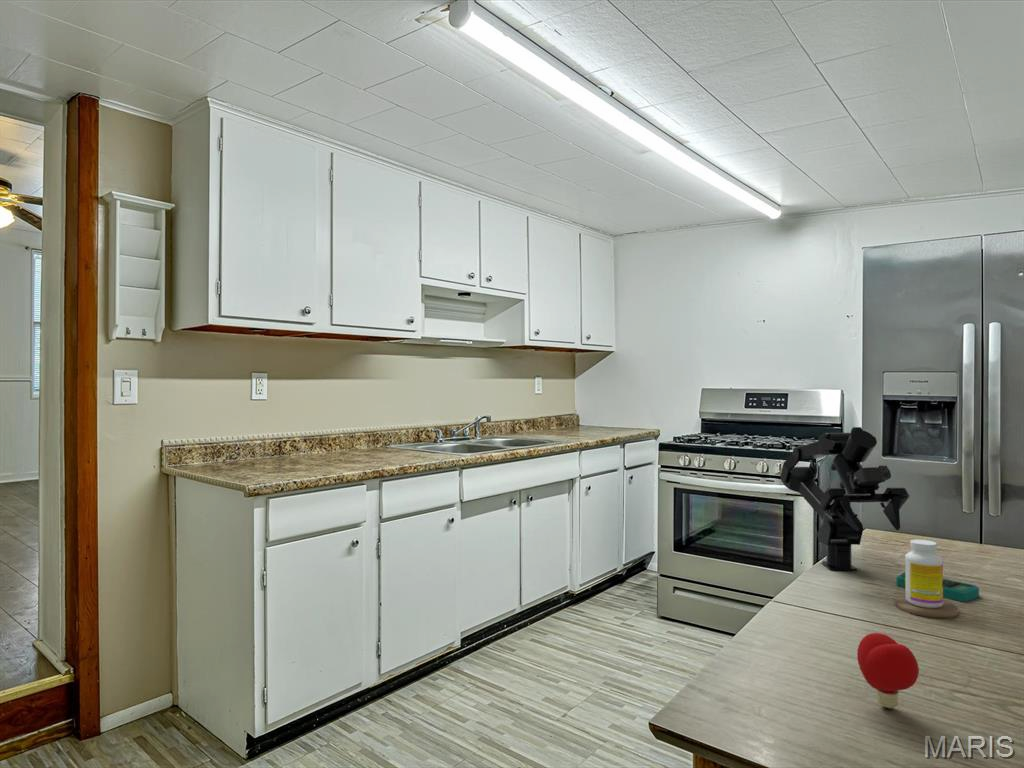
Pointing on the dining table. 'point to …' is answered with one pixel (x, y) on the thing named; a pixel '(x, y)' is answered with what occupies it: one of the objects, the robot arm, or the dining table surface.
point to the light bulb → (886, 667)
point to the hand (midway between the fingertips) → (878, 529)
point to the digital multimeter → (952, 589)
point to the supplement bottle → (924, 575)
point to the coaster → (927, 609)
